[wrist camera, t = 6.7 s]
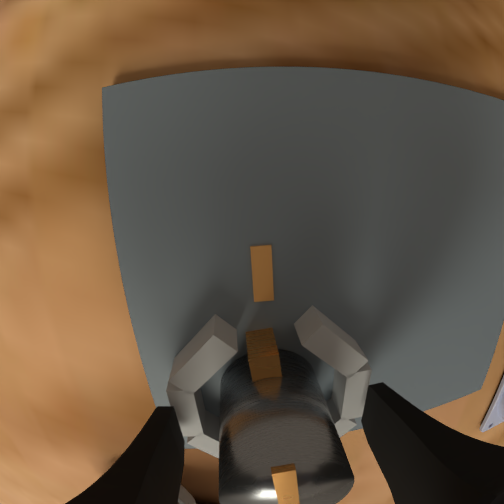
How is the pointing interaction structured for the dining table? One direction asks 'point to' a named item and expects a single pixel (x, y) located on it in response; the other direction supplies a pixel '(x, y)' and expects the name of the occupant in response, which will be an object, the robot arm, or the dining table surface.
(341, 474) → the knob
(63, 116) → the dining table surface
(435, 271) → the hub board
